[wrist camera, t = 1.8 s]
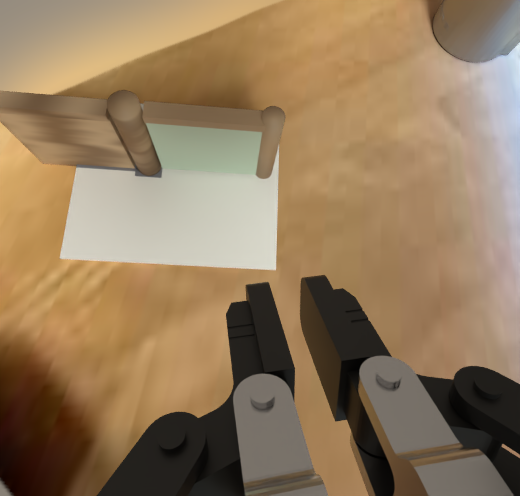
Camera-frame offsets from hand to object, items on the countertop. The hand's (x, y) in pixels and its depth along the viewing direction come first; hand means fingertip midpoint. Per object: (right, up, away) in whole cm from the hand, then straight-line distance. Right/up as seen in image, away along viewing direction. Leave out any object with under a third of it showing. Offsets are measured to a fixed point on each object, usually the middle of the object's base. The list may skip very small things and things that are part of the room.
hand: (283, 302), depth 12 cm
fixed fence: (-16, +10, +25) cm, 32 cm away
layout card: (-9, +8, +25) cm, 28 cm away
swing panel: (-5, +10, +25) cm, 28 cm away
